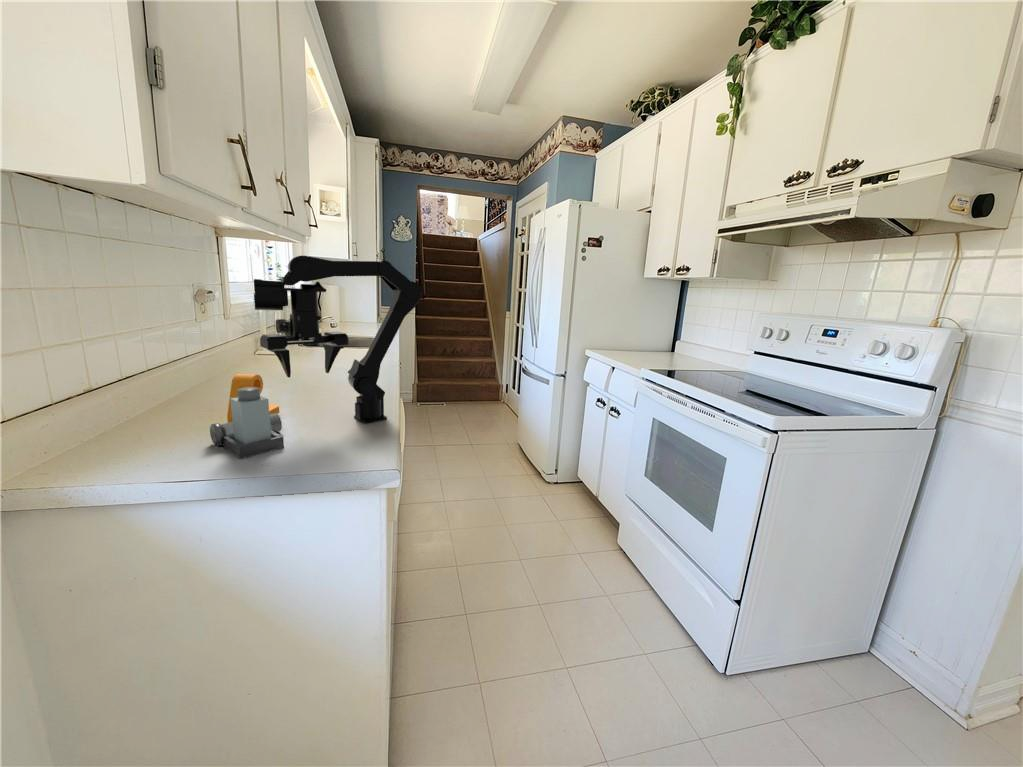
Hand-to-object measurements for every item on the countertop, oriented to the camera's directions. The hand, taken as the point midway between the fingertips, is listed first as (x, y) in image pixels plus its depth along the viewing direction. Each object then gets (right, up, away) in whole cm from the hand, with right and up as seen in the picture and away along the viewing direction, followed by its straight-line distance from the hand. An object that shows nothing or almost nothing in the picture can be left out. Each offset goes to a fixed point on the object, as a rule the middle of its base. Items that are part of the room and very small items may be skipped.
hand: (308, 374), depth 103 cm
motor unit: (-7, -15, -10) cm, 19 cm away
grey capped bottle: (-6, -16, -12) cm, 21 cm away
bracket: (-16, -12, +4) cm, 20 cm away
